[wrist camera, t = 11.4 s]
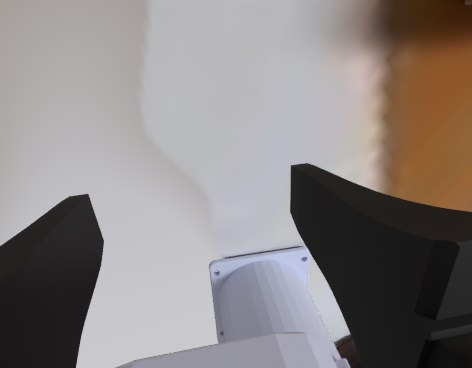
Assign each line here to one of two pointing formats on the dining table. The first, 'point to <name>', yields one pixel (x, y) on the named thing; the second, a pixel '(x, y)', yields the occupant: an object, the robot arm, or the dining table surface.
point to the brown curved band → (350, 354)
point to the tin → (468, 2)
